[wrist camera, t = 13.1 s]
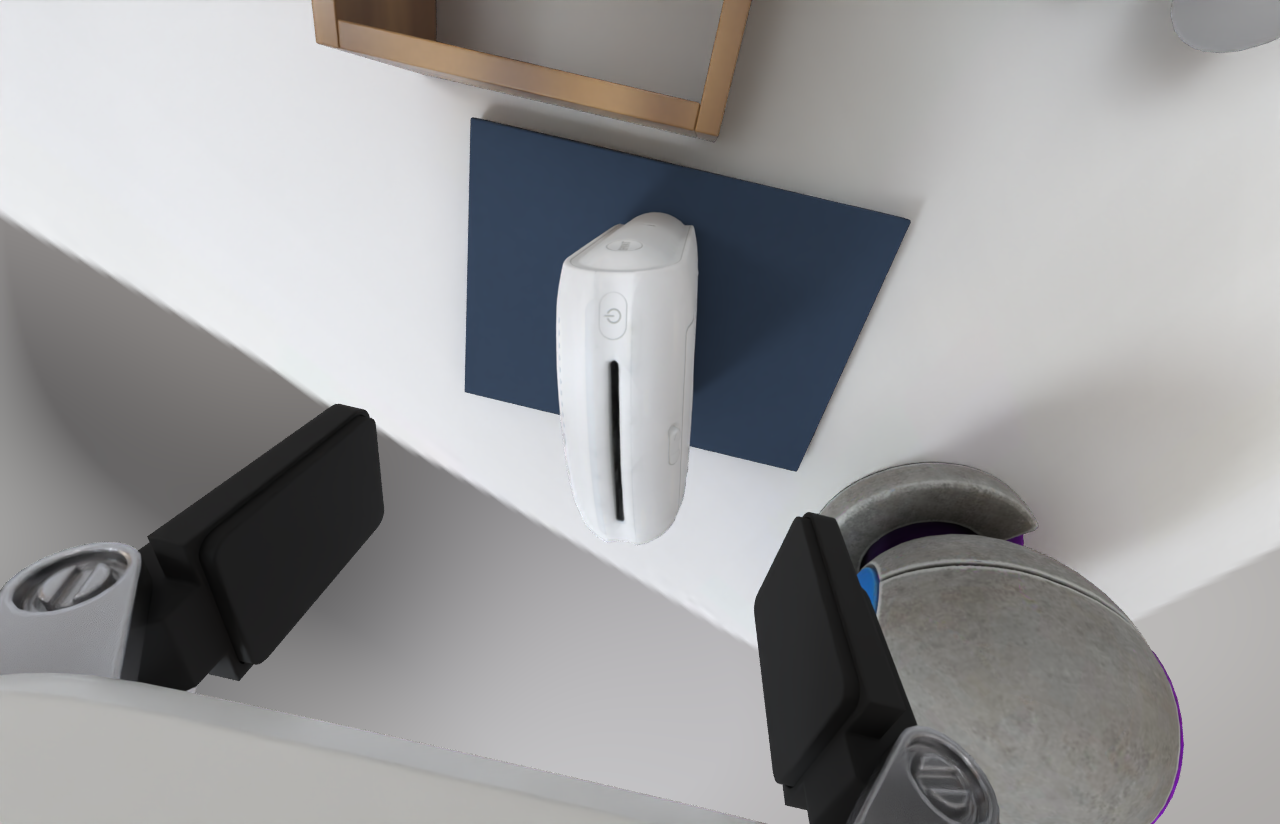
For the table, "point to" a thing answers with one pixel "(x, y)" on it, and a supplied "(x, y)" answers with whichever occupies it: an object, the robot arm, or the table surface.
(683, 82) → the table surface
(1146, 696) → the webcam
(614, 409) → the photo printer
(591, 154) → the mat
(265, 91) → the table surface
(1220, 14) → the clip-on lamp
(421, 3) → the wooden box
